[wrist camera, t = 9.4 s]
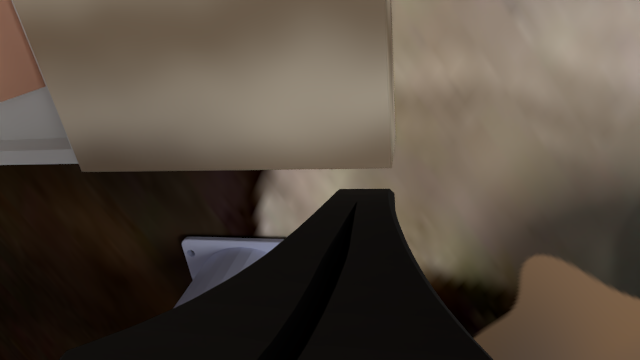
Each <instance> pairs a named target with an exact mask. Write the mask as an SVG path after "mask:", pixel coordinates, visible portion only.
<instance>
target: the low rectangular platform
mask: <svg viewBox="0 0 640 360" xmlns="http://www.w3.org/2000/svg"><path fill="white" fill-rule="evenodd" d="M13 3H14V5H15V8H16V10H17V12H18V15H19V17H20V20H21V22H22V25H23V27H24V30H25V32H26V35H27V37H28V40H29V42H30V45H31V47H32V50H33V52H34V55H35V57H36V59H37V62H38V64H39V67H40V69H41V72H42V74H43V77H44V79H45V82H46V84H47V87H48V89H49V92H50V94H51V97H52V99H53V102H54V104H55V106H56V109H57V111H58V114H59V116H60V119H61V121H62V124H63V126H64V129H65V131H66V134H67V136H68V139H69V141H70V144H71V146H72V149H73V151H74V153H75V156H76V158H77V161H78V163H79V166H80V168H81V171H82V172H119V171H200V170H281V169H362V168H392V161H393V154H394V146H395V138H396V129H395V100H394V71H393V41H392V12H391V0H13Z"/></svg>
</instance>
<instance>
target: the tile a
mask: <svg viewBox="0 0 640 360" xmlns="http://www.w3.org/2000/svg"><path fill="white" fill-rule="evenodd" d="M45 86H46V85H45V83H44V80H43V78H42V75H41V73H40V70H39V68H38V65H37V63H36V60H35V58H34V55H33V53H32V50H31V48H30V46H29V43H28V41H27V38H26V36H25V33H24V31H23V28H22V26H21V23H20V21H19V18H18V16H17V14H16V11H15V9H14V6H13V4H12V1H11V0H0V102H3V101H6V100H8V99H11V98H14V97H17V96H20V95H23V94H25V93H28V92H31V91H34V90H37V89H40V88H43V87H45Z"/></svg>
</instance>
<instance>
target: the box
mask: <svg viewBox="0 0 640 360" xmlns="http://www.w3.org/2000/svg"><path fill="white" fill-rule="evenodd" d="M11 1H12V4H13V6H14V9H15V11H16V14H17V16H18V18H19V21H20V23H21V26H22V28H23V31H24V33H25V36H26V38H27V41H28V43H29V46H30V48H31V50H32V47H31V45H30V42H29V40H28V37H27V35H26V32H25V30H24V27H23V25H22V22H21V20H20V17H19V15H18V12H17V10H16V8H15V5H14V3H13V0H11ZM32 53H33V55H34V52H33V50H32ZM34 58H35V60H36V63H37V65H38V68H39V70H40V73H41V75H42V78H43V80H44V83H45V85H46V86H45V87H43V88H40V89H37V90H34V91H31V92H28V93H25V94H23V95H20V96H17V97H14V98H11V99H8V100H6V101H3V102H0V165H27V164H79V163H78V161H77V158H76V156H75V153H74V151H73V149H72V146H71V144H70V141H69V139H68V136H67V134H66V131H65V129H64V126H63V124H62V121H61V119H60V116H59V114H58V111H57V109H56V106H55V104H54V102H53V99H52V97H51V94H50V92H49V89H48V87H47V84H46V82H45V79H44V77H43V74H42V72H41V69H40V67H39V64H38V62H37V59H36V57H35V55H34Z"/></svg>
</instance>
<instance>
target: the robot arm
mask: <svg viewBox="0 0 640 360" xmlns="http://www.w3.org/2000/svg"><path fill="white" fill-rule="evenodd" d="M182 248H183V251H184V254H185V257H186V261H187V264H188V267H189V270H190V273H191V277H192V280H193V281H192V282H191V284H190V285H189V287H188V288H187V289H186V291H185V292H184V294H183V295H182V297H181V298H180V299H179V301H178V302H177V304H176V305H175V307H174V308H173V309H171V310H169V311H167V312H165V313H162V314H160V315H158V316H156V317H153V318H151V319H149V320H147V321H144V322H142V323H140V324H137V325H135V326H132V327H130V328H127V329H125V330H122V331H119V332H117V333H114V334H111V335H109V336H106V337H103V338H100V339H98V340H95V341H92V342H90V343H87V344H84V345H82V346H79V347H76V348H73V349H70V350H67V351H66V352H65V353H64V355H63V356H62V357H61V358H60V359H59V360H493V359H492V358H491V357H490V356H489V355H488V354H487V353H486V351H484V349H483V348H482V347H481V346H480V345H479V344H478V343H477V342H476V341H475V340H474V339H473V338H472V337H471V335H470V334H469V333H468V332H467V331H466V329H465V328H464V327H463V326H462V325H461V324H460V322H459V321H458V320H457V319H456V318H455V316H454V315H453V314H452V313H451V312H450V311H449V309H448V308H447V307H446V306H445V304H444V303H443V301H442V300H441V299H440V297H439V296H438V295H437V293H436V292H435V290H434V289H433V288H432V286H431V284H430V283H429V281H428V280H427V278H426V277H425V275H424V274H423V272H422V270H421V269H420V267H419V265H418V263H417V262H416V260H415V258H414V256H413V254H412V252H411V250H410V248H409V246H408V244H407V242H406V240H405V237H404V235H403V232H402V230H401V227H400V225H399V222H398V219H397V216H396V212H395V197H394V193H393V192H392V191H391V190H390V189H339V190H338V191H337V192H336V193H335V194H334V195H333V196H332V197H331V198H330V199H329V200H328V201H327V202H326V203H324V204H323V205H322V206H321V207H320V208H319V209H318V210H317V211H316V212H315V213H314V214H313V215H312V216H311V217H310V218H309V219H307V220H306V221H305V222H304V223H303V224H302V225H301V226H300V227H299V228H298V229H296V230H295V231H294V232H293V233H292V234H290V235H289V236H288V237H287V238H285V239H261V238H225V237H186V238H185V239H184V240H183V241H182ZM191 250H192V251H194V253H193V252H192V251H191Z"/></svg>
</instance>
